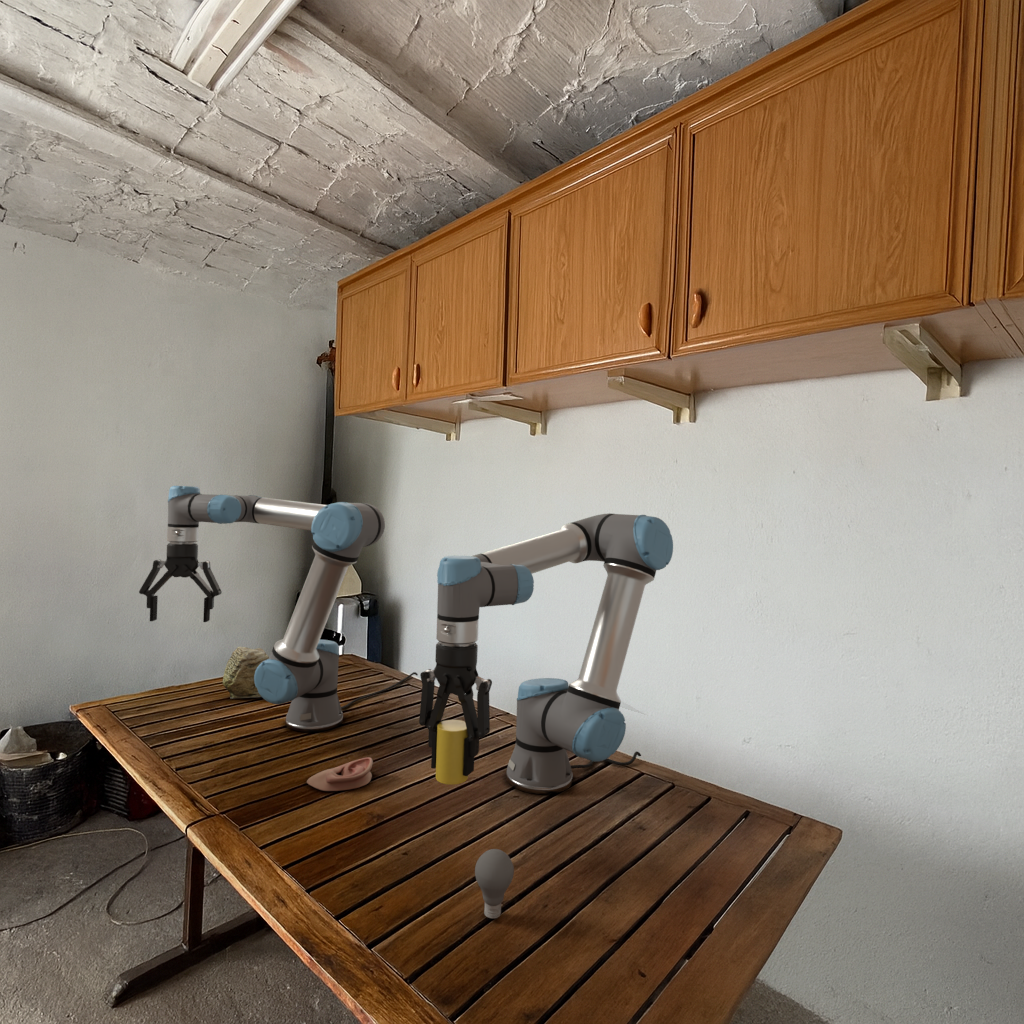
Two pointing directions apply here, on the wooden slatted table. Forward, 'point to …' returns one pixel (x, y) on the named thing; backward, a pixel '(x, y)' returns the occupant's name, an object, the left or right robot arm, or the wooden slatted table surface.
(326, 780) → the anatomical model
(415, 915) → the wooden slatted table surface
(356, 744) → the wooden slatted table surface
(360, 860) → the wooden slatted table surface
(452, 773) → the cylinder
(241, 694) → the fossil
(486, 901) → the light bulb
